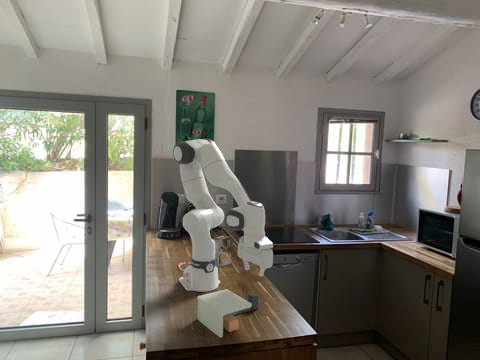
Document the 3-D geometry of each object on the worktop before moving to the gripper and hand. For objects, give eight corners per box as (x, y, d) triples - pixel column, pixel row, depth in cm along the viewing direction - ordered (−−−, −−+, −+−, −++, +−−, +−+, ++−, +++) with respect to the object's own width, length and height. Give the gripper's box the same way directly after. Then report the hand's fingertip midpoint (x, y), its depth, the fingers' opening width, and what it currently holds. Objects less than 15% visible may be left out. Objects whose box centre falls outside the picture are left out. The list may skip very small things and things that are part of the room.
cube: (223, 327, 136) (223, 317, 135) (232, 325, 138) (232, 315, 138) (229, 332, 133) (229, 321, 132) (238, 329, 135) (238, 319, 134)
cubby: (196, 318, 142) (197, 296, 141) (226, 310, 150) (226, 289, 149) (220, 337, 128) (220, 312, 128) (251, 327, 137) (251, 303, 136)
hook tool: (217, 317, 144) (217, 302, 144) (253, 306, 155) (253, 292, 154) (227, 324, 138) (228, 309, 138) (264, 312, 149) (264, 298, 148)
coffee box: (224, 261, 216) (225, 235, 214) (231, 264, 211) (231, 237, 209) (212, 264, 210) (212, 237, 209) (218, 267, 205) (219, 239, 204)
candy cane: (177, 270, 195) (178, 262, 210) (177, 273, 195) (178, 264, 210) (191, 270, 196) (191, 261, 211) (191, 272, 196) (191, 264, 211)
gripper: (234, 236, 157) (233, 267, 158) (263, 246, 140) (263, 281, 141) (245, 234, 160) (245, 264, 161) (275, 244, 144) (275, 278, 145)
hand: (253, 272), depth 151 cm, fingers open, 8 cm apart
